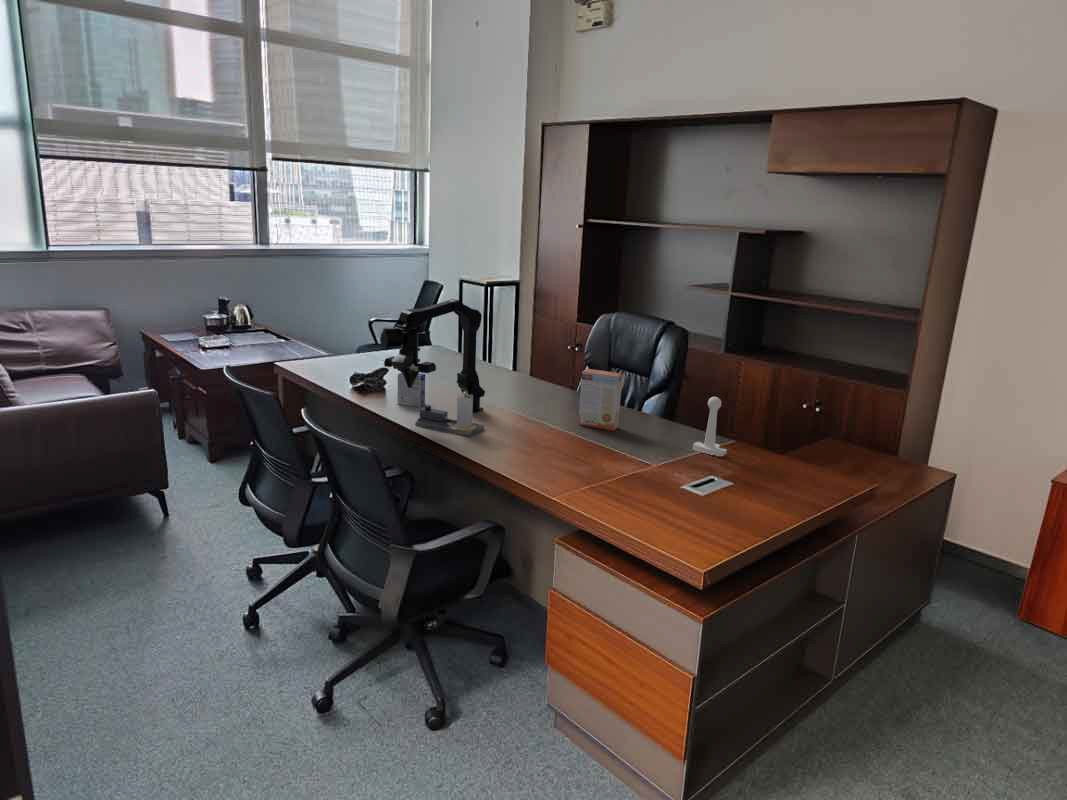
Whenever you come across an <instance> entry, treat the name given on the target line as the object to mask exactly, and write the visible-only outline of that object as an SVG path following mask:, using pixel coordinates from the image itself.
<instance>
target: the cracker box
mask: <svg viewBox="0 0 1067 800" xmlns="http://www.w3.org/2000/svg"><path fill="white" fill-rule="evenodd" d="M622 381H623V373H620V372H612V371H608V370H607V371H606V370H600V369H599V370H598V369H593V368H586V369H585V370H582V371H581V381H580V382H581V383H580V394H579V395H580V396H579V397H580V398H579V408H578V409H579V411H578V412H579V413H578V426H582V427H589V428H595V429H600V430H605V431H606V430H607V431H611V432H613V431H615V430H616V429H618V428H619V420H620V409H621V408H620V407H621V398H622V397H621V396H622V384H623V383H622Z"/></svg>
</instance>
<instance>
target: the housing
mask: <svg viewBox="0 0 1067 800" xmlns="http://www.w3.org/2000/svg"><path fill="white" fill-rule="evenodd" d="M456 400H457V401H456V420H457V428H467V429H471V427H472V423H473V395H468V392H463V393H458V395H457V399H456Z"/></svg>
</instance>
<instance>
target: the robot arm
mask: <svg viewBox="0 0 1067 800" xmlns="http://www.w3.org/2000/svg"><path fill="white" fill-rule="evenodd" d="M450 313H454V314H455V315H456V316H458V317H459V324H460V326H461V329H462V332H463V342H462V343H463V344H462V349H463V351H462V352H463V353H462V369H461V371H460V372H457V374H456V377H457V379H456V384H457V386H458V388H459V389H460V390H461V391H460V392H461V394H463V392H468V395H473V413H474V414H476V413H479V412H481V411H483V410H484V407H481V398H483V397H484V396H485V393H486V390H485V389H484V388H483V387H481V385H480V377H479V375H478V371H477V370H476V365H477V361H476V360H477V334H478V333H477V332H478V331H479V330H480V329H479V328H480V327H481V323H482V317H483V316H482V313H481V312H480V310H478V309H474V308H471V307H469V306H467V305H466V304H464V303H463V302H462V301H460V300H459V299H454V298H450V299H448V300H445V301H441V302H439V303H436V304H432V305H429V306H425V307H421V308H405V309H403V310H402V311H400V314H399V318H398V319H397V320H396V322H395V323H394V325H393V326H392V327H390V328H388V327H383V329H382V330H383V331H382V332H381V334H380V337H379V341H380V344H381V345H380V346H382V347H383V349H387V348H399V347H401V348H399V351H398V354H396V355H395V356H389V357H387V358H385V359H384V361H383V363H384V364H383V367H387V368H392V369H394V370H397V371H399V373H402V374H403V376H404V378H405V380H406V383H407V386H408V388H412V385H413V383H414V381H415V379H416V377H417V375H418V373H421V374H430V373H432V372H433V373H434V372H436V371H437V365H436V364H435V362H430V361H424V362H421V358H419V352H420V351H421V347H419V334H422V333H423V334H424V332H425V331H424V330H423V329H422V327H420V326H422V325H423V324H425V323H426V322H427V321H428V320H431V319H434V318H438V317H440V316H444V315H447V314H450Z"/></svg>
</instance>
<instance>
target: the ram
mask: <svg viewBox="0 0 1067 800" xmlns="http://www.w3.org/2000/svg"><path fill="white" fill-rule="evenodd" d="M448 413H449V412H448V411H446V410H445V411H444V410H441V409H435V408H432V405H430V404H424V407H423V408H421V409H419V418H422V419H427V420H432V421H437V422H442V423H444V422H446V421H447V418H448V415H449V414H448Z"/></svg>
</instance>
